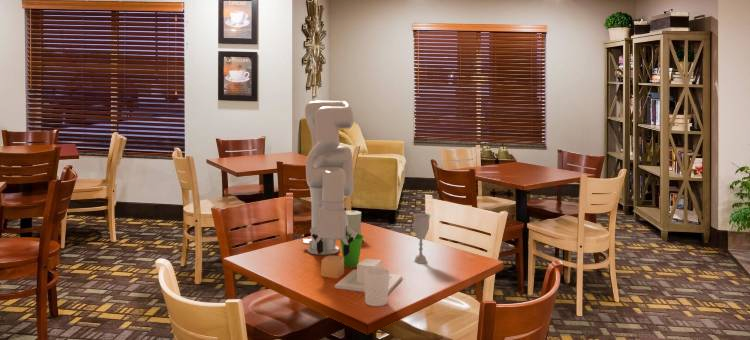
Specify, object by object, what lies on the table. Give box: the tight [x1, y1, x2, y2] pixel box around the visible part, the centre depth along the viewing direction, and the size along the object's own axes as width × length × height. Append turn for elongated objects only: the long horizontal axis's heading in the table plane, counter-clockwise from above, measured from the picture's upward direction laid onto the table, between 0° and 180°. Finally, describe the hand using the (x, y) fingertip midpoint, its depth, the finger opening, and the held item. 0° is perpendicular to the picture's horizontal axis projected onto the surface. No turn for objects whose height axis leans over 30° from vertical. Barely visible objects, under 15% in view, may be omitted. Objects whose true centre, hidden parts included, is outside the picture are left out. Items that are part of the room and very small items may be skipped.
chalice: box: [412, 212, 432, 264], centre depth 232 cm, size 7×7×18 cm
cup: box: [339, 233, 364, 268], centre depth 226 cm, size 9×9×11 cm
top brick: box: [320, 255, 345, 279], centre depth 215 cm, size 6×6×6 cm
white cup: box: [364, 267, 391, 307], centre depth 188 cm, size 8×8×10 cm
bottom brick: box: [356, 257, 383, 283], centre depth 206 cm, size 6×8×6 cm
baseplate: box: [334, 269, 403, 294], centre depth 207 cm, size 18×18×1 cm
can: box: [346, 209, 362, 235], centre depth 265 cm, size 9×9×12 cm
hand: (333, 254), depth 214 cm, fingers open, 9 cm apart
